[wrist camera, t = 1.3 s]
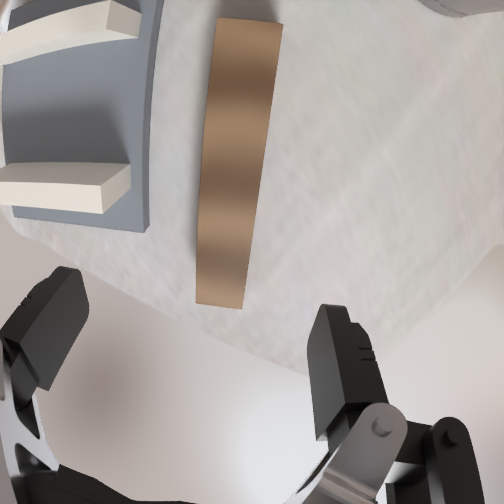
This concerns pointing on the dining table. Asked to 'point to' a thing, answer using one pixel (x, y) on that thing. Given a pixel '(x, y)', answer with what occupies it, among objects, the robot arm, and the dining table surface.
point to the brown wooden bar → (233, 155)
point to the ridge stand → (79, 111)
